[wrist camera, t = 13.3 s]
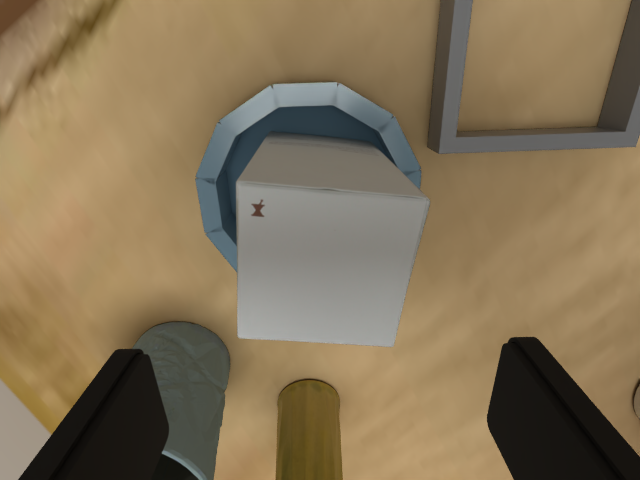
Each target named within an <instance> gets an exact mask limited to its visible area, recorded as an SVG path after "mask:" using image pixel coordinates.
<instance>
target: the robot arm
mask: <svg viewBox="0 0 640 480" xmlns="http://www.w3.org/2000/svg"><path fill="white" fill-rule="evenodd" d="M634 409H635V412H636V415H637V416H638V418H639V419H640V385H639V387H638V389H637V391H636V394H635V398H634ZM487 423H488V427H489V430H490V432H491V434H492V436H493V438H494V440H495V442H496V444H497V446H498V448H499V450H500V452H501V454H502V456H503V458H504V460H505V463H506V465H507V467H508V469H509V471H510V473H511V475H512V477H513V479H514V480H640V457H639V456H638V455H637V453H636V452H635V451H634V450H633V449H632V448H631V446H630V445H629V444H628V443H627V442H626V441H625V439H624V438H623V437H622V436H621V435H620V434H619V432H618V431H617V430H616V429H615V428H614V427H613V425H612V424H611V423H610V422H609V421H608V420H607V418H606V417H605V416H604V415H603V414H602V413H601V412H600V410H599V409H598V408H597V407H596V406H595V405H594V403H593V402H592V401H591V400H590V399H589V398H588V396H587V395H586V394H585V393H584V392H583V391H582V389H581V388H580V387H579V386H578V385H577V384H576V382H575V381H574V380H573V379H572V378H571V377H570V375H569V374H568V373H567V372H566V371H565V370H564V369H563V367H562V366H561V365H560V364H559V363H558V362H557V360H556V359H555V358H554V357H553V356H552V355H551V353H550V352H549V351H548V350H547V349H546V348H545V346H544V345H543V344H542V343H541V342H540V341H539V340H538V339H537V338H535V337H513V338H510V339H509V341H508V343H505V344H504V345H503V346H502V350H501V354H500V359H499V363H498V368H497V373H496V377H495V382H494V386H493V391H492V396H491V400H490V405H489V409H488V414H487ZM168 435H169V423H168V420H167V416H166V413H165V409H164V405H163V402H162V398H161V395H160V391H159V388H158V384H157V380H156V377H155V373H154V370H153V366H152V362H151V359H150V356H149V355H148V354H144V352H143V351H142V350H141V349H118V350H116V351H115V352H114V353H113V354H112V355H111V356H110V358H109V359H108V360H107V362H106V363H105V364H104V366H103V367H102V368H101V370H100V371H99V372H98V374H97V375H96V376H95V378H94V379H93V380H92V382H91V383H90V384H89V386H88V387H87V389H86V390H85V391H84V393H83V394H82V395H81V397H80V398H79V399H78V401H77V402H76V403H75V405H74V406H73V407H72V409H71V410H70V411H69V413H68V414H67V415H66V416H65V418H64V419H63V420H62V422H61V423H60V424H59V426H58V427H57V428H56V430H55V431H54V432H53V434H52V435H51V437H50V438H49V439H48V441H47V442H46V443H45V445H44V446H43V447H42V449H41V450H40V451H39V453H38V454H37V455H36V457H35V458H34V459H33V461H32V462H31V463H30V465H29V466H28V467H27V469H26V470H25V471H24V473H23V474H22V475H21V477H20V478H19V479H18V480H151V478H152V476H153V473H154V471H155V469H156V466H157V464H158V461H159V459H160V457H161V454H162V452H163V449H164V447H165V445H166V442H167V439H168Z"/></svg>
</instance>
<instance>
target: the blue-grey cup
mask: <svg viewBox="0 0 640 480" xmlns="http://www.w3.org/2000/svg"><path fill="white" fill-rule="evenodd" d="M132 349H141V350H142V351H143V352H144V354H148V355H149V356H150V359H151V362H152V366H153V370H154V373H155V377H156V380H157V384H158V388H159V391H160V395H161V398H162V402H163V405H164V409H165V413H166V416H167V420H168V423H169V435H168V439H167V442H166V445H165V447H164V449H163V452H162V454H161V457H160V459H159V461H158V464H157V466H156V469H155V471H154V473H153V476H152V478H151V480H213V479H214V472H215V465H216V454H217V447H218V441H219V433H220V427H221V425H222V419H223V410H224V406H225V394H224V392H225V390H226V387H227V384H228V377H229V370H230V357H229V353H228V350H227V348H226V346H225V345H224V343H223V342H222V341H221V339H220V338H219V337H218V336H217V335H216V334H214V333H213V332H211V331H210V330H208V329H206V328H204V327H201V325H198V324H192V323H186V322H169V323H163V324H161V325H157V326H154V327H153V328H151V329H149V330H148V331H147V332H145V333H144V334H143V335H142V336H141V337H140V338H139V340H138V341H137V342H136V344H135V345H134V346H133V348H132Z"/></svg>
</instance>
